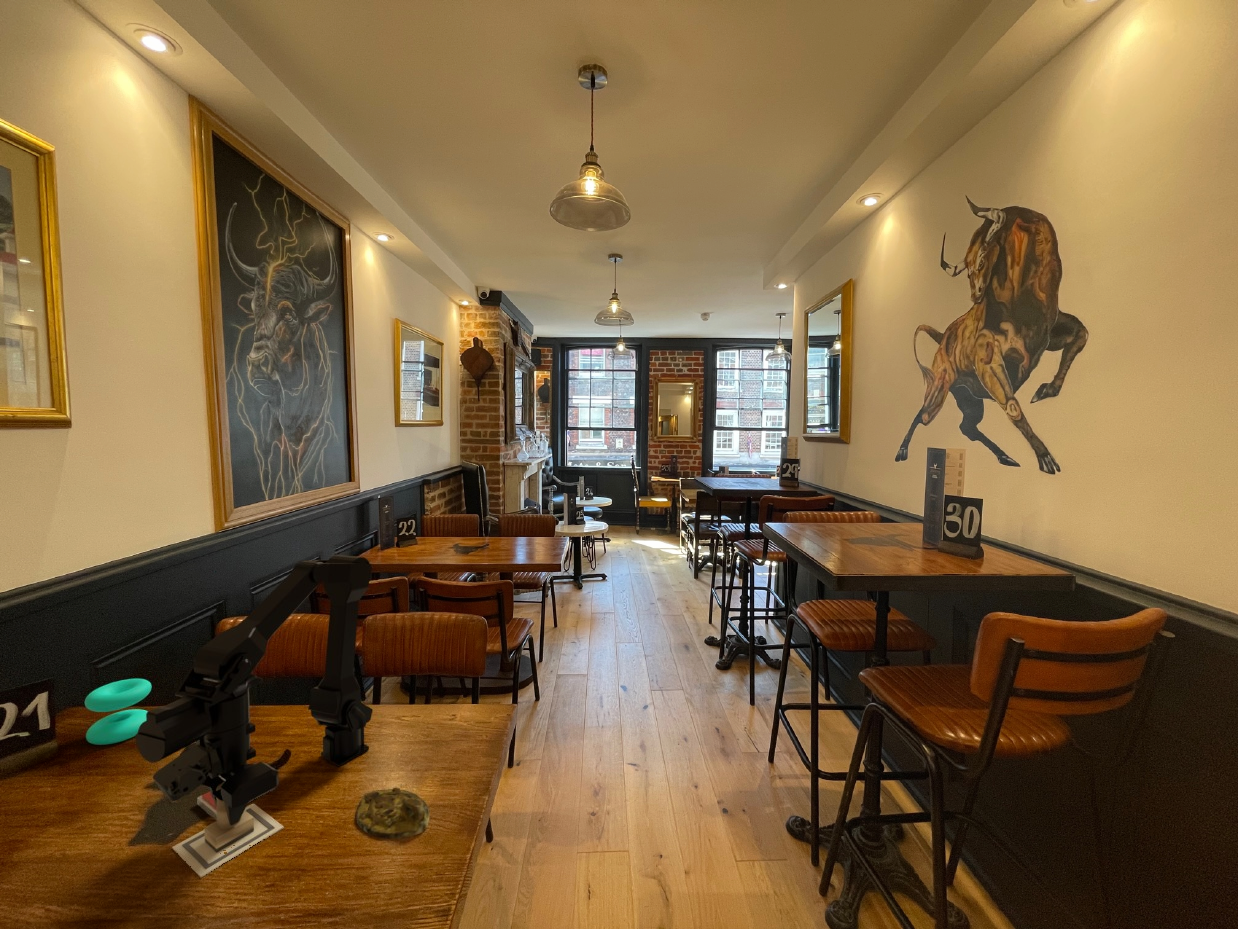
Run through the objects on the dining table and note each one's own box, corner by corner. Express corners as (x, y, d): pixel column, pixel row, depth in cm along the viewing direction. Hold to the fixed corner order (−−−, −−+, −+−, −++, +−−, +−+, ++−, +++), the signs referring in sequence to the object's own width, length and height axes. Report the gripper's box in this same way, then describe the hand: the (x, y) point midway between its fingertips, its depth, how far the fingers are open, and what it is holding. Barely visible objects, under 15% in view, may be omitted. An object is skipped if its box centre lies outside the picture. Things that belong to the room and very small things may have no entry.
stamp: (241, 821, 83) (240, 772, 83) (253, 831, 81) (252, 781, 81) (204, 841, 79) (203, 790, 78) (216, 853, 77) (215, 800, 76)
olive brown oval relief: (338, 826, 84) (404, 857, 78) (334, 801, 84) (401, 830, 78) (384, 785, 93) (447, 810, 87) (381, 762, 92) (445, 786, 86)
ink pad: (256, 775, 95) (256, 767, 95) (275, 788, 91) (275, 780, 91) (197, 804, 87) (197, 796, 87) (216, 820, 83) (215, 811, 83)
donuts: (75, 691, 104) (139, 672, 113) (77, 739, 105) (140, 716, 114) (96, 704, 100) (160, 683, 109) (97, 753, 100) (161, 728, 109)
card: (253, 804, 87) (253, 802, 87) (283, 828, 82) (283, 826, 82) (172, 848, 78) (172, 846, 78) (201, 878, 73) (201, 876, 73)
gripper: (135, 729, 77) (139, 829, 78) (188, 773, 67) (191, 885, 68) (222, 698, 86) (224, 786, 87) (279, 731, 77) (281, 830, 78)
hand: (229, 819), depth 80 cm, fingers closed on stamp, 3 cm apart
